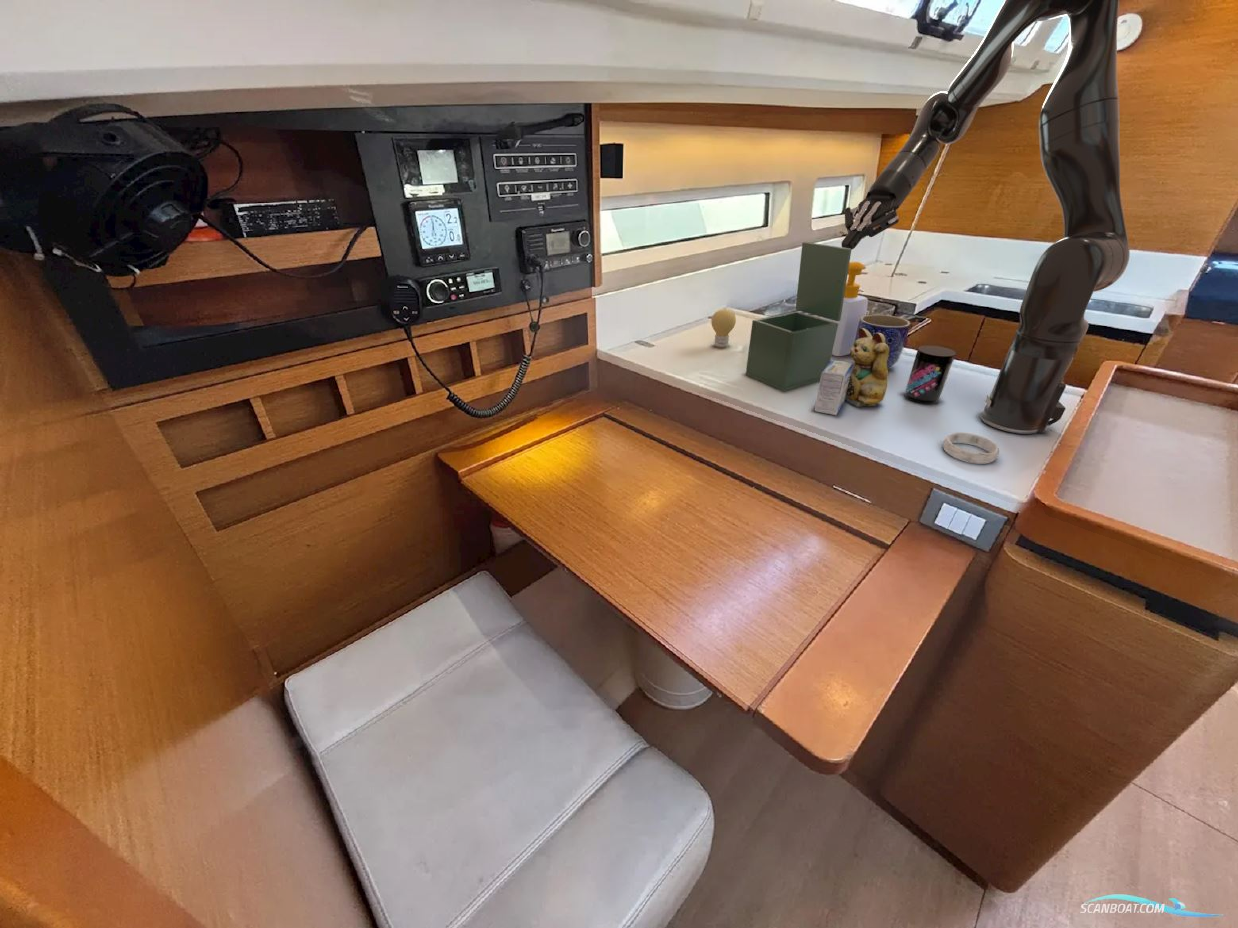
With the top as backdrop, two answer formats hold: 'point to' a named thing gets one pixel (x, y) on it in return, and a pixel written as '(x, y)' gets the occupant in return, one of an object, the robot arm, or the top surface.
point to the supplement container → (929, 374)
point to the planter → (887, 333)
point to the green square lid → (822, 280)
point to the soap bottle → (849, 312)
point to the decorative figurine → (868, 370)
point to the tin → (790, 349)
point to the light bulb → (723, 326)
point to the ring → (968, 455)
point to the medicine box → (833, 387)
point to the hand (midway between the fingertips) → (845, 248)
